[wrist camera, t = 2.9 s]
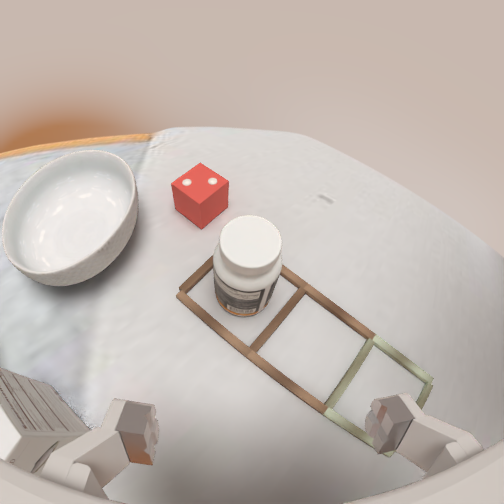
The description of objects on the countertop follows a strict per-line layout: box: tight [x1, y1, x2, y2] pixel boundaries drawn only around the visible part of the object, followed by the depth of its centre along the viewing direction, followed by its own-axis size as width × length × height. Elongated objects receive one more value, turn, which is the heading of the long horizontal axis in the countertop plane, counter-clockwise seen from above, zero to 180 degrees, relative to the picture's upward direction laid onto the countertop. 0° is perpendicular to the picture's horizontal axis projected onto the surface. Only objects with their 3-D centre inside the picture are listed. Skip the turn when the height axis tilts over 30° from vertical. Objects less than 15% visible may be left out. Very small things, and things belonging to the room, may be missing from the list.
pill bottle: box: [213, 215, 282, 316], centre depth 26 cm, size 6×6×10 cm
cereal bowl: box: [2, 150, 138, 286], centre depth 29 cm, size 17×17×7 cm
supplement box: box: [0, 367, 91, 477], centre depth 15 cm, size 7×7×13 cm
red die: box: [171, 163, 229, 229], centre depth 34 cm, size 4×4×5 cm
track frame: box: [176, 256, 434, 457], centre depth 28 cm, size 28×10×1 cm, turn 51°
